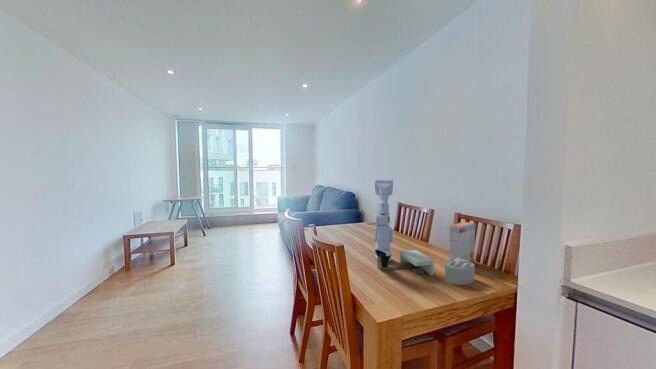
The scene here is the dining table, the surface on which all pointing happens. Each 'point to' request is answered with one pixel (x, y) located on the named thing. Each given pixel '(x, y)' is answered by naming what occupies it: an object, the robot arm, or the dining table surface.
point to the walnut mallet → (395, 266)
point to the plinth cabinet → (417, 260)
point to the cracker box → (462, 241)
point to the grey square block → (417, 270)
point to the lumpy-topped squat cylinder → (459, 271)
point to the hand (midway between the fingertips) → (382, 265)
